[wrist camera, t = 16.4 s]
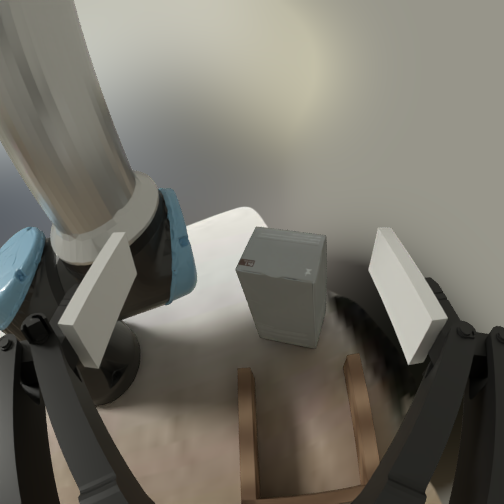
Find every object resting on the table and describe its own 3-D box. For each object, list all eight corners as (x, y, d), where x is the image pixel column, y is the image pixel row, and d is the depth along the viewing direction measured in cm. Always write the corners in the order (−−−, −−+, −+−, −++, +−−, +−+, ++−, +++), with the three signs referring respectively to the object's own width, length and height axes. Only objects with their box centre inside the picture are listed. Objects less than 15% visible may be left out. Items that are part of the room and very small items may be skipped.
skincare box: (325, 311, 43) (332, 229, 31) (314, 355, 38) (319, 283, 27) (270, 300, 46) (257, 219, 34) (253, 341, 41) (232, 266, 30)
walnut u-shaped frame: (374, 493, 24) (383, 493, 21) (247, 509, 25) (241, 512, 22) (354, 365, 36) (359, 353, 34) (242, 379, 37) (237, 368, 35)
